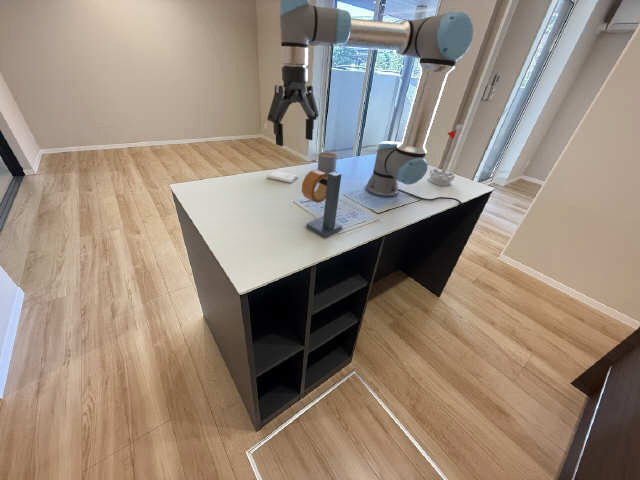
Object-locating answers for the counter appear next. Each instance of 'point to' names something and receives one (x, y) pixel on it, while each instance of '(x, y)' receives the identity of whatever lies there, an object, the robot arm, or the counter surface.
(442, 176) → the flag stand
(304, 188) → the tape roll
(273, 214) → the counter surface
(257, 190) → the counter surface
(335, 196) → the hook stand
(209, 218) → the counter surface
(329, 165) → the coffee mug
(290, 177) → the hard drive
